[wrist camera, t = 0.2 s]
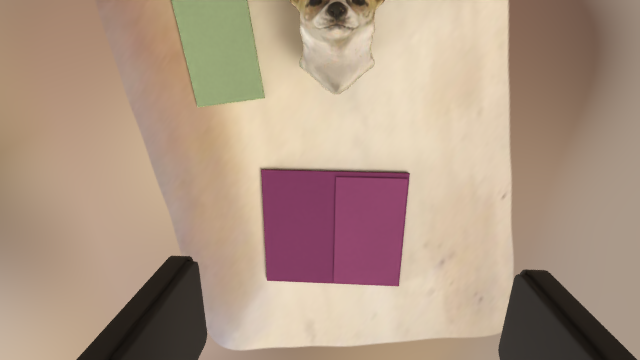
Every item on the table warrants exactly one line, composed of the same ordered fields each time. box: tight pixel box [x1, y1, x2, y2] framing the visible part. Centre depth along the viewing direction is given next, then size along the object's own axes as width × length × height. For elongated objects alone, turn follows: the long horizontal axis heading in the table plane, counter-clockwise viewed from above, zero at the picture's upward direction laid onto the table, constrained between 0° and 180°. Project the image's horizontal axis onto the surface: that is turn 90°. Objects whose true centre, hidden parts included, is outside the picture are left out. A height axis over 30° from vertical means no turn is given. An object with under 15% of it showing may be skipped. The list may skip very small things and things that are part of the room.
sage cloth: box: [172, 0, 265, 107], centre depth 37 cm, size 12×8×1 cm, turn 8°
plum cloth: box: [261, 169, 410, 286], centre depth 43 cm, size 16×18×1 cm
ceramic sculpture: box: [290, 0, 384, 94], centre depth 32 cm, size 11×9×15 cm
